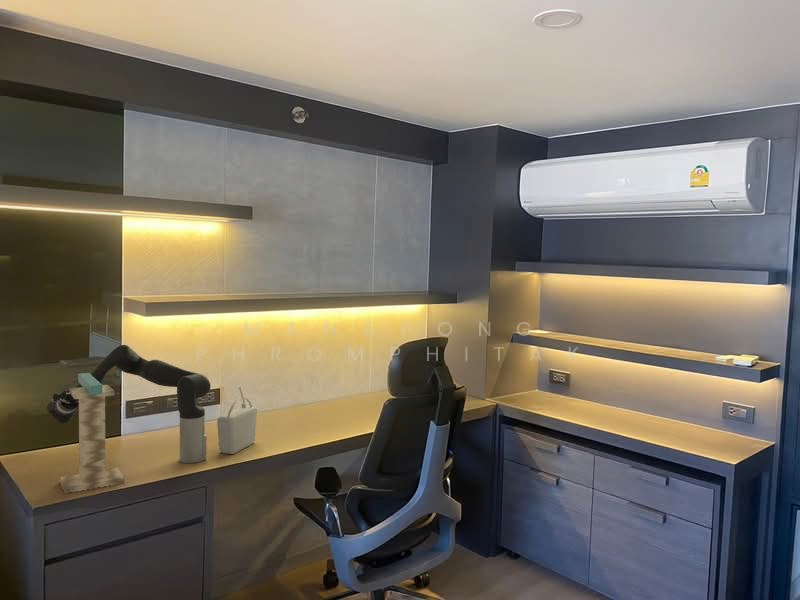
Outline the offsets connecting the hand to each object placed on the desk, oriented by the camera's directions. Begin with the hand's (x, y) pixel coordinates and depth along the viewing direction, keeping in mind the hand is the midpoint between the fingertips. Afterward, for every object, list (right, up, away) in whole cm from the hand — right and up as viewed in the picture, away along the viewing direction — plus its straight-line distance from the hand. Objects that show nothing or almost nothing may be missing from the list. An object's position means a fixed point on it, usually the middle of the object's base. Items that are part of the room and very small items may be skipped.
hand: (78, 392), depth 220 cm
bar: (+11, +4, -12) cm, 17 cm away
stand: (+12, -29, -14) cm, 35 cm away
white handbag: (+50, -28, +29) cm, 64 cm away
